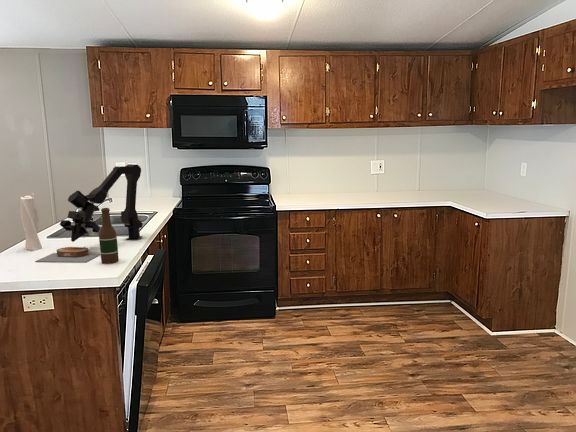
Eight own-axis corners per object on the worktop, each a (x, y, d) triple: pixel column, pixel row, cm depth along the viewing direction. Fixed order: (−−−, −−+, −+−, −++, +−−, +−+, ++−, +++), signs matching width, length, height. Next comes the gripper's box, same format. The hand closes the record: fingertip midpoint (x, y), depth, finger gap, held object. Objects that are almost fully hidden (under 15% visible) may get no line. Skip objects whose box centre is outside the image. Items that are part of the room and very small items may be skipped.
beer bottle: (97, 261, 209) (92, 208, 205) (114, 258, 214) (110, 206, 210) (105, 265, 204) (100, 210, 199) (122, 261, 209) (117, 208, 204)
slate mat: (53, 253, 224) (53, 252, 224) (101, 254, 222) (101, 253, 222) (35, 262, 210) (35, 261, 210) (86, 262, 208) (86, 261, 208)
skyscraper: (46, 247, 237) (39, 192, 232) (33, 251, 230) (26, 194, 225) (34, 246, 239) (27, 191, 234) (21, 250, 233) (14, 193, 227)
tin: (92, 247, 222) (81, 250, 214) (92, 254, 223) (81, 257, 214) (64, 246, 225) (52, 249, 217) (64, 253, 226) (52, 256, 218)
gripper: (60, 203, 224) (45, 231, 216) (93, 204, 219) (79, 232, 211) (73, 216, 233) (59, 243, 225) (105, 218, 228) (92, 245, 220)
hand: (72, 241), depth 220 cm, fingers closed
